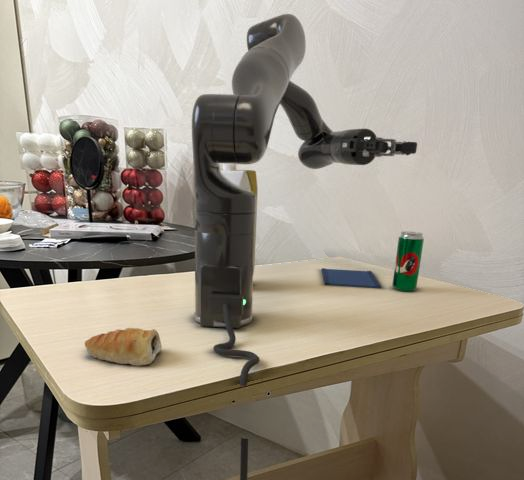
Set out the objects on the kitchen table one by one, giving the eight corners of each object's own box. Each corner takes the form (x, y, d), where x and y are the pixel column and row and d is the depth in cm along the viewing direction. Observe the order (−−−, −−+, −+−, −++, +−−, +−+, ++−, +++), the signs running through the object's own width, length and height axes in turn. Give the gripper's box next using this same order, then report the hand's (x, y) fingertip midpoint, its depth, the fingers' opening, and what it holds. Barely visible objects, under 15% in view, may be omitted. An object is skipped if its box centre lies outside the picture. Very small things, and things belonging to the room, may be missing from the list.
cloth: (380, 288, 112) (381, 285, 112) (324, 284, 112) (325, 282, 112) (370, 273, 127) (371, 271, 127) (321, 270, 127) (321, 268, 127)
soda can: (421, 291, 111) (429, 234, 107) (404, 293, 108) (412, 234, 104) (403, 285, 115) (411, 230, 111) (386, 287, 112) (394, 231, 108)
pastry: (77, 362, 65) (75, 333, 64) (97, 345, 71) (95, 318, 70) (151, 367, 65) (150, 338, 63) (164, 349, 71) (164, 322, 70)
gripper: (327, 126, 114) (371, 123, 100) (381, 131, 119) (429, 128, 106) (324, 163, 116) (366, 165, 103) (377, 165, 122) (423, 167, 108)
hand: (398, 146), depth 104 cm, fingers open, 8 cm apart
